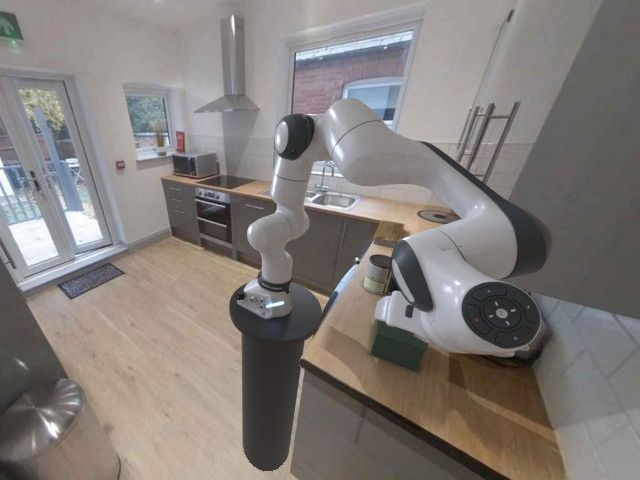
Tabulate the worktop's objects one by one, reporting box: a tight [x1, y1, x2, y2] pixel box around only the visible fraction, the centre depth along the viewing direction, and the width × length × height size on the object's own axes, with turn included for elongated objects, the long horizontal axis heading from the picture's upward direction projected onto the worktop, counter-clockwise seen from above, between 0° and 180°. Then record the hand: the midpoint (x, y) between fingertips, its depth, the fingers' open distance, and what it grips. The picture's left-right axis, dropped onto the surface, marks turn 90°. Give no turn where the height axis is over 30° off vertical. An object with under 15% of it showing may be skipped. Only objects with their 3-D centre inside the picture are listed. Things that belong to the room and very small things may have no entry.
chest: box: [369, 318, 426, 372], centre depth 82 cm, size 14×13×9 cm
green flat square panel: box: [377, 292, 430, 351], centre depth 72 cm, size 14×13×1 cm
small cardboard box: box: [372, 219, 406, 248], centre depth 160 cm, size 35×14×6 cm, turn 146°
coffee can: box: [362, 253, 392, 295], centre depth 110 cm, size 10×10×14 cm
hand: (425, 328), depth 54 cm, fingers closed
